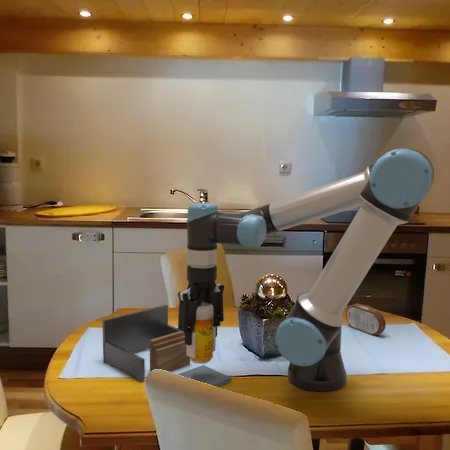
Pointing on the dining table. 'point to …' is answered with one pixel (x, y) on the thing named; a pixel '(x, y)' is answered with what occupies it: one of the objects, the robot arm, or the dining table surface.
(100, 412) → the dining table surface
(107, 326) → the grey open frame
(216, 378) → the mat
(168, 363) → the offcuts
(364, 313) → the tin
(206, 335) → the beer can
